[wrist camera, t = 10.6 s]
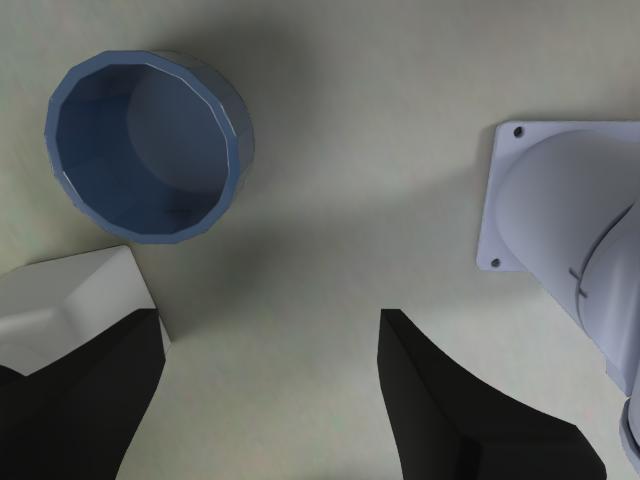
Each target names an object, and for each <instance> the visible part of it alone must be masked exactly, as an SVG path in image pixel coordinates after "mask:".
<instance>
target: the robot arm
mask: <svg viewBox="0 0 640 480" xmlns="http://www.w3.org/2000/svg"><path fill="white" fill-rule="evenodd" d="M517 127H521V130H522V131H521V133H520V134H519V135H518V136H514V130H515V129H516V128H517ZM494 259H499V261H498V262H497V263H496V264H491V263H492V261H493V260H494ZM476 264H477V266H478V267H479V269H481V270H483V271H527V272H530V273H531V274H532V275H533V276H534V277H535V278H536V279H537V280H538V282H539V283H540V284H541V285H542V286H543V287H544V288H545V289H546V290H547V292H548V293H549V294H550V295H551V296H552V297H553V298H554V299H555V300H556V302H557V303H558V304H559V305H560V306H561V307H562V308H563V309H564V310H565V312H566V313H567V314H568V315H569V316H570V317H571V318H572V319H573V320H574V322H575V323H576V324H577V325H578V326H579V327H580V328H581V329H582V330H583V332H584V333H585V334H586V335H587V336H588V337H589V338H590V339H591V340H592V341H593V342H594V343H595V345H596V346H597V347H598V348H599V349H600V350H601V352H602V353H603V354H604V357H605V360H606V373H607V374H608V376H609V377H610V378H611V379H612V380H613V381H614V383H615V384H616V385H617V386H618V387H619V388H620V390H621V391H622V392H623V393H624V394H625V395H626V396H627V397H630V396H631V397H630V398H629V399H628V400H627V401H626V402H625V404H624V408H623V411H622V414H621V418H620V425H619V433H620V438H621V442H622V446H623V449H624V451H625V453H626V455H627V457H628V460H629V461H630V463H631V464H632V466H633V467H634V469H635V470H636V472H637V473H638V475H639V476H640V121H503V122H502V123H500V124H499V125H498V126H497V129H496V132H495V138H494V145H493V151H492V158H491V164H490V171H489V177H488V184H487V190H486V197H485V203H484V210H483V216H482V223H481V229H480V236H479V242H478V249H477V255H476ZM165 361H166V359H165V352H164V346H163V339H162V333H161V326H160V320H159V313H158V308H139V309H137V310H135V311H133V312H132V313H130V314H128V315H127V316H125V317H124V318H122V319H121V320H119V321H118V322H116V323H115V324H113V325H112V326H110V327H109V328H107V329H106V330H104V331H103V332H101V333H100V334H98V335H97V336H95V337H94V338H92V339H91V340H89V341H88V342H86V343H84V344H83V345H81V346H80V347H78V348H76V349H75V350H73V351H71V352H70V353H68V354H66V355H65V356H63V357H62V358H60V359H58V360H56V361H55V362H53V363H51V364H49V365H47V366H45V367H43V368H41V369H39V370H37V371H35V372H34V373H32V374H30V375H28V376H25V377H23V378H21V379H19V380H17V381H14V382H12V383H10V384H8V385H5V386H3V387H1V388H0V480H115V478H116V475H117V473H118V470H119V467H120V465H121V462H122V460H123V458H124V455H125V453H126V451H127V449H128V447H129V445H130V443H131V441H132V439H133V437H134V434H135V432H136V430H137V428H138V426H139V424H140V422H141V420H142V418H143V416H144V414H145V412H146V410H147V408H148V406H149V404H150V402H151V400H152V398H153V395H154V393H155V391H156V389H157V386H158V383H159V380H160V377H161V374H162V371H163V368H164V365H165ZM377 364H378V372H379V379H380V385H381V390H382V394H383V398H384V402H385V405H386V409H387V413H388V416H389V420H390V424H391V427H392V431H393V434H394V438H395V442H396V445H397V449H398V453H399V458H400V462H401V467H402V473H403V479H404V480H606V479H607V473H606V468H605V465H604V463H603V462H602V460H601V459H600V457H599V456H598V455H597V453H596V452H595V450H594V449H593V447H592V446H591V444H590V443H589V441H588V440H587V439H586V438H585V436H584V435H583V434H582V433H581V431H580V430H579V429H578V428H577V426H576V425H573V424H571V423H568V422H566V421H563V420H561V419H558V418H556V417H553V416H550V415H548V414H545V413H543V412H540V411H538V410H536V409H534V408H532V407H530V406H527V405H525V404H523V403H521V402H519V401H517V400H515V399H513V398H511V397H509V396H507V395H505V394H504V393H502V392H500V391H498V390H497V389H495V388H493V387H492V386H490V385H488V384H486V383H485V382H483V381H482V380H480V379H479V378H477V377H476V376H474V375H473V374H471V373H470V372H468V371H467V370H466V369H464V368H463V367H461V366H460V365H459V364H457V363H456V362H455V361H454V360H452V359H451V358H450V357H449V356H448V355H446V354H445V353H444V352H443V351H442V350H440V349H439V348H438V347H437V346H436V345H435V344H434V343H433V342H432V341H431V340H430V339H429V338H428V337H426V336H425V335H424V334H423V333H422V332H421V331H420V330H419V328H418V327H417V326H416V325H415V324H414V323H413V322H412V321H411V320H410V319H409V318H408V317H407V316H406V315H405V314H404V313H403V312H402V311H401V310H400V309H381V317H380V329H379V342H378V355H377Z"/></svg>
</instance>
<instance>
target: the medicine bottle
mask: <svg viewBox="0 0 640 480" xmlns="http://www.w3.org/2000/svg"><path fill="white" fill-rule="evenodd" d="M139 308H156V307H155V305H154V303H153V300H152V298H151V296H150V293H149V291H148V289H147V287H146V284H145V282H144V280H143V277H142V275H141V273H140V271H139V268H138V266H137V264H136V261H135V259H134V257H133V255H132V252H131V250H130V248H129V247H128V246H126V245H121V246H116V247H112V248H107V249H102V250H97V251H93V252H88V253H83V254H79V255H74V256H69V257H64V258H60V259H55V260H50V261H45V262H41V263H36V264H31V265H26V266H22V267H18V268H16V269H15V270H13V271H12V272H10V273H9V274H7V275H6V276H4V277H3V278H1V279H0V388H1V387H3V386H5V385H8V384H10V383H12V382H14V381H17V380H19V379H21V378H23V377H25V376H28V375H30V374H32V373H34V372H35V371H37V370H39V369H41V368H43V367H45V366H47V365H49V364H51V363H53V362H55V361H56V360H58V359H60V358H62V357H63V356H65V355H66V354H68V353H70V352H71V351H73V350H75V349H76V348H78V347H80V346H81V345H83V344H84V343H86V342H88V341H89V340H91V339H92V338H94V337H95V336H97V335H98V334H100V333H101V332H103V331H104V330H106V329H107V328H109V327H110V326H112V325H113V324H115V323H116V322H118V321H119V320H121V319H122V318H124V317H125V316H127V315H128V314H130V313H132V312H133V311H135V310H137V309H139ZM159 320H160V326H161V333H162V339H163V346H164V352H165V355H166V353H167V351H168V349H169V347H170V346H171V341H170V339H169V337H168V335H167V332H166V330H165V328H164V325H163V323H162V321H161V319H160V316H159Z"/></svg>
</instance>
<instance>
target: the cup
mask: <svg viewBox="0 0 640 480" xmlns="http://www.w3.org/2000/svg"><path fill="white" fill-rule="evenodd" d="M44 136H45V137H44V138H45V142H46V146H47V150H48V155H49V159H50V163H51V167H52V171H53V173H54V176H55V177H56V179H57V180H58V182H59V183H60V185H61V186H62V188H63V189H64V191H65V193H66V194H67V196H68V197H69V199H70V200H71V202H72V203H73V205H74V206H76V208H77V209H78V210H80V211H81V212H82V213H83V214H85V215H86V216H87V217H88V218H90V219H91V220H92V221H93V222H95V223H96V224H97V225H99V226H100V227H101V228H102V229H104V230H106V231H107V232H109V233H112V234H115V235H118V236H120V237H123V238H126V239H128V240H131V241H134V242H136V243H140V244H176V243H179V242H181V241H184V240H187V239H189V238H192V237H194V236H197V235H199V234H202V233H204V232H205V231H207V230H208V229H209V228H210V227H211V226H212V225H213V224H214V223H215V222H216V221H217V220H218V219H219V218H220V217H221V216H222V215H223V214H224V213H225V212H226V211H227V209H228V208H229V207H230V205H231V204H232V203H233V201H234V200H235V198H236V197H237V195H238V194H239V193H240V191H241V190H242V188H243V187H244V184H245V181H246V179H247V177H248V175H249V172H250V170H251V166H252V163H253V158H254V151H255V139H254V131H253V126H252V122H251V118H250V116H249V113H248V111H247V108H246V106H245V104H244V102H243V100H242V99H241V97H240V95H239V94H238V93H237V91H236V90H235V88H234V87H233V86H232V85H231V84H230V83H229V81H228V80H227V79H226V78H225V77H224V76H222V75H221V74H220V73H219V72H218V71H217V70H215V69H214V68H212V67H211V66H209V65H208V64H206V63H204V62H202V61H200V60H198V59H196V58H193V57H190V56H188V55H185V54H181V53H178V52H175V51H104V52H102V53H100V54H98V55H96V56H94V57H92V58H90V59H88V60H86V61H84V62H82V63H80V64H78V65H76V66H74V67H72V69H70V70H69V72H68V73H67V75H66V76H65V78H64V79H63V80H62V82H61V83H60V85H59V86H58V88H57V89H56V90H55V92H54V93H53V95H52V96H51V98H50V100H49V106H48V113H47V119H46V126H45V133H44Z"/></svg>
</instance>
